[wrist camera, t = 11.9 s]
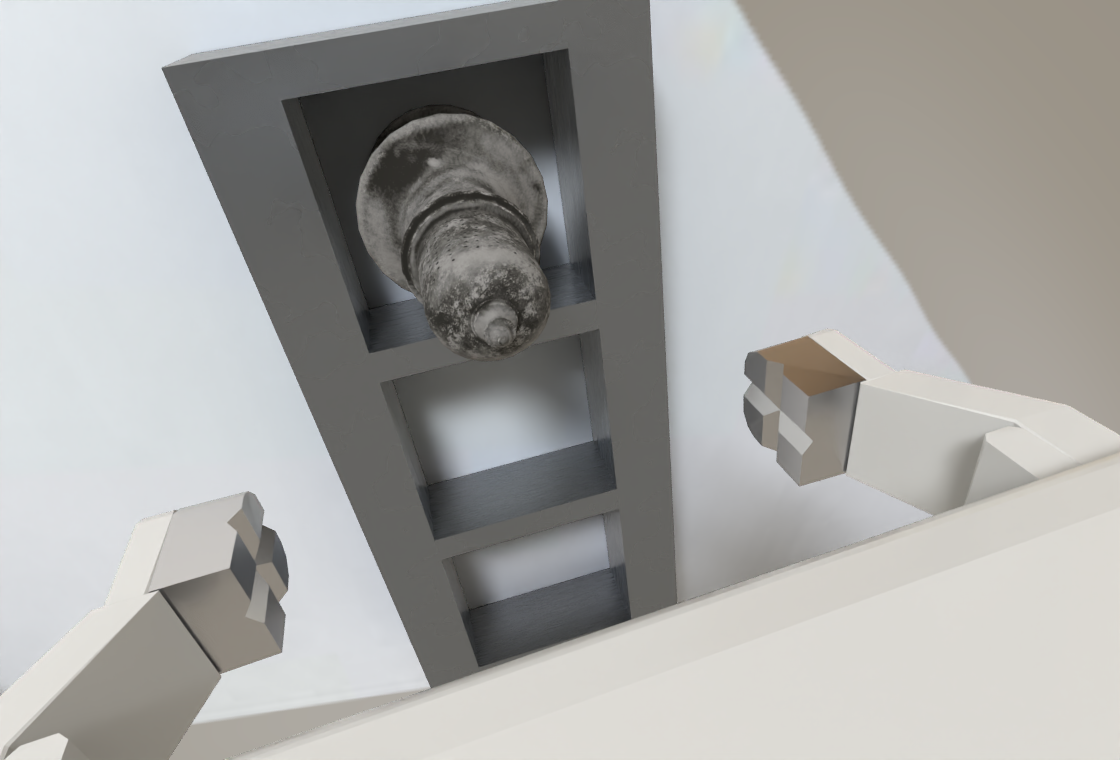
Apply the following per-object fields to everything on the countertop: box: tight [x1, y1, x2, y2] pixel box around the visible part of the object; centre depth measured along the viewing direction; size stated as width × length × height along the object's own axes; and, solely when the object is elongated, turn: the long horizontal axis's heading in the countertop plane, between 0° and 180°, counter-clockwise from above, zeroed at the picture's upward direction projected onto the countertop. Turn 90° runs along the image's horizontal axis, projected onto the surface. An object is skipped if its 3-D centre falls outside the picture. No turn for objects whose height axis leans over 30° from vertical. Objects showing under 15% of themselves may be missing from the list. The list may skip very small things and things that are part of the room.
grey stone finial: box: [356, 105, 551, 361], centre depth 18 cm, size 6×6×12 cm
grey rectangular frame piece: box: [162, 0, 677, 688], centre depth 26 cm, size 13×29×4 cm, turn 9°
